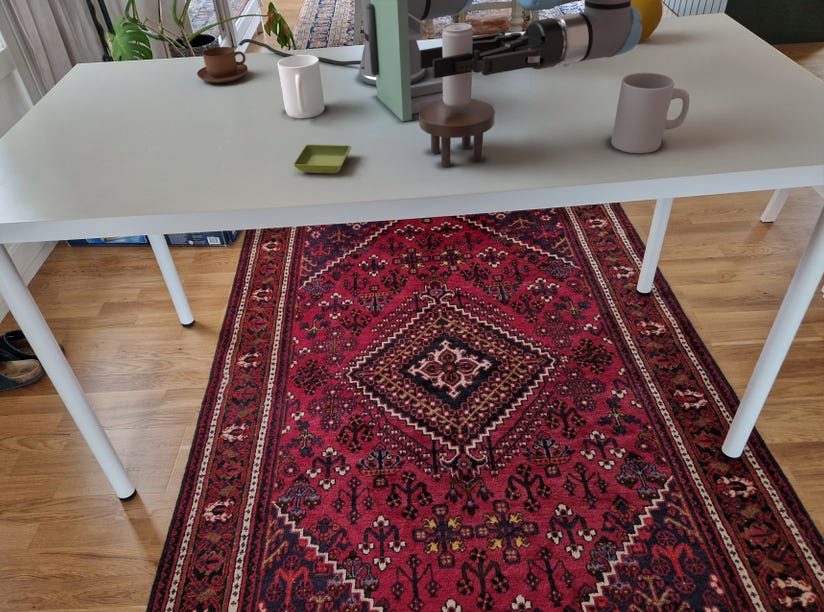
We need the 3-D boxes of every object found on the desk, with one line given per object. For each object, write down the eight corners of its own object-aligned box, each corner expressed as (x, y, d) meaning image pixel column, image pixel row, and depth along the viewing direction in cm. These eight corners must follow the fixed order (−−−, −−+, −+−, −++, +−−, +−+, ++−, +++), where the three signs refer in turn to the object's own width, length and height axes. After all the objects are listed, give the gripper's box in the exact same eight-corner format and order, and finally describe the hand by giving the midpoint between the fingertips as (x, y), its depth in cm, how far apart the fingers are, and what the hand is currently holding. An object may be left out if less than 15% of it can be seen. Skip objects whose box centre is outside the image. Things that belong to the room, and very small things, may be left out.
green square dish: (353, 156, 117) (352, 145, 116) (342, 177, 111) (340, 165, 110) (307, 155, 119) (305, 144, 117) (294, 175, 112) (292, 164, 111)
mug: (616, 154, 112) (627, 90, 105) (606, 135, 119) (617, 73, 111) (686, 152, 111) (703, 87, 104) (673, 133, 118) (687, 70, 111)
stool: (407, 164, 114) (405, 119, 108) (440, 137, 122) (440, 94, 117) (474, 177, 108) (475, 130, 103) (503, 148, 117) (506, 103, 111)
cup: (325, 103, 139) (318, 53, 132) (324, 124, 130) (317, 71, 123) (287, 106, 138) (278, 56, 132) (283, 127, 129) (274, 75, 123)
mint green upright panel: (436, 86, 143) (434, -27, 129) (466, 109, 132) (468, -12, 117) (370, 98, 140) (361, -17, 125) (395, 123, 128) (389, 0, 114)
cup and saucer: (229, 67, 161) (223, 41, 157) (259, 75, 155) (254, 48, 151) (189, 81, 155) (182, 53, 151) (219, 90, 149) (212, 62, 144)
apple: (646, 49, 155) (656, -6, 148) (609, 43, 160) (617, -10, 153) (663, 39, 161) (674, -14, 153) (627, 33, 166) (635, -18, 158)
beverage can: (471, 98, 111) (473, 22, 103) (470, 108, 107) (472, 30, 99) (443, 98, 111) (443, 23, 103) (442, 109, 107) (441, 31, 100)
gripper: (580, 80, 104) (449, 105, 99) (526, 52, 117) (408, 72, 112) (586, 30, 99) (449, 53, 94) (529, 6, 112) (406, 26, 107)
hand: (427, 64), depth 103 cm, fingers closed on beverage can, 5 cm apart
